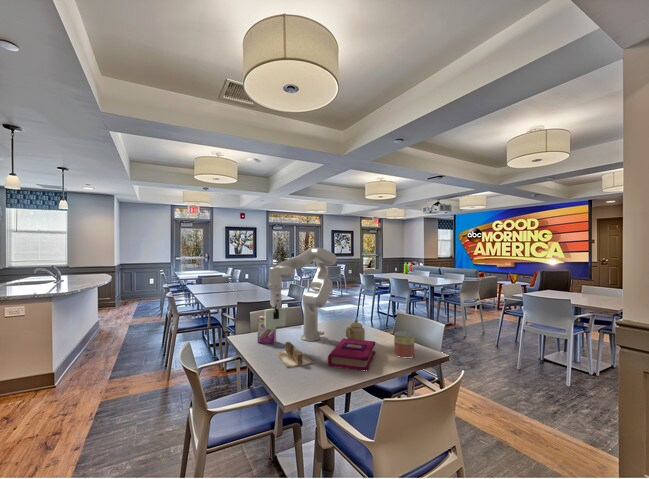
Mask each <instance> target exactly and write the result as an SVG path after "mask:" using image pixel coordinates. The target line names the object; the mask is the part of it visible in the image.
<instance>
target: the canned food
mask: <svg viewBox="0 0 649 479" xmlns="http://www.w3.org/2000/svg"><path fill="white" fill-rule="evenodd" d="M393 334H394V338H393V339H394V340H393V342H394V350H393V352H394V353H393V354H395V355H397V356H400V357H412V356H414V357H415V334H414V333H412V332H410V331H405V330H402V331H395V332H394V333H393ZM395 355H394V356H395ZM397 356H396V357H397ZM400 357H399V358H400Z"/></svg>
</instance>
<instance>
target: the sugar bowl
mask: <svg viewBox="0 0 649 479" xmlns="http://www.w3.org/2000/svg"><path fill="white" fill-rule="evenodd" d="M358 320H359V319H357V318H355V319H354V322H352V323H351V324H349V327H347V328H346V330H345V337H346V339H354V340H363V341H365V336H366V333H365V330H366V329H365V327H363V326H364V325H363V324H361V323H359V322H358Z"/></svg>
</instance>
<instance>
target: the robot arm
mask: <svg viewBox="0 0 649 479" xmlns="http://www.w3.org/2000/svg"><path fill="white" fill-rule="evenodd" d="M337 259H338V258H337V255H336V254H335V253H333V252H332V251H329V250H327V249H325V248H322V247H310V248H308V249H306V250H305V251H302V253H300V254H299V255H297V256H294V257H291V258H288V259H285V260H284V261H282V262H280V263H278V264H277V265H276V266H271V267H270V268H269V271H268V272H269V274H268V291H270V292H269V293H270V294H269V303H270V304H269V305H270V306H271V309H274V315H273V319H279V308H282V287H283V286H282V284H283V282H282V281H283V279H286V280H287V279H288V280H289V279H291V278H293V277H294V275H295V270H297V269H303V268H305V267H306V266H308V265H310V263H312V262H314V263H315V264H316V272H315V274H314V277H312V281H311V283H310V289H311V290H307V291H305V292H304V293H303V295H302V298H301V299H302V305H303V334H302V335H301V336H300V337H301V338H300V339H301V340H302V341H306V342H314V341H318V340H320V338H321V337H320V336H324V335H325V331H319V330H318V327H319V326H318V325H319V324H318V322H319V321H318V318H319V317H318V316H319V310H318V308H324V306H326V304H327V303H328V300H329V298H330V295H331V293H332V290H333V286H334V285H333V281H332V280H331V279H330V278H328V276H329V268H328V267H327V266H333V265H335V264H336V262H337ZM275 308H276V309H275Z"/></svg>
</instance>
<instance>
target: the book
mask: <svg viewBox="0 0 649 479" xmlns="http://www.w3.org/2000/svg"><path fill="white" fill-rule="evenodd" d="M375 346H376V341H373V340H364V341H363V340H354V339H348V338H342V339H340V341H339V342H338V343H337V345H336V346H335V347H334V348H333V349H332V350H331V352H330V353H328V355H327V364H328V366H329V367H333V368H339V367H340V368H341V369H346V368H348V370H354V369H357V370H356V371H360V370H365V371H364V372H367V371H366V370H368V369H369V370H370V366H371V365H372V362H373V359H374V357H375V354H376V351H375V350H374V348H375ZM373 356H374V357H373ZM371 361H372V362H371ZM369 370H368V371H369Z"/></svg>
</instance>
